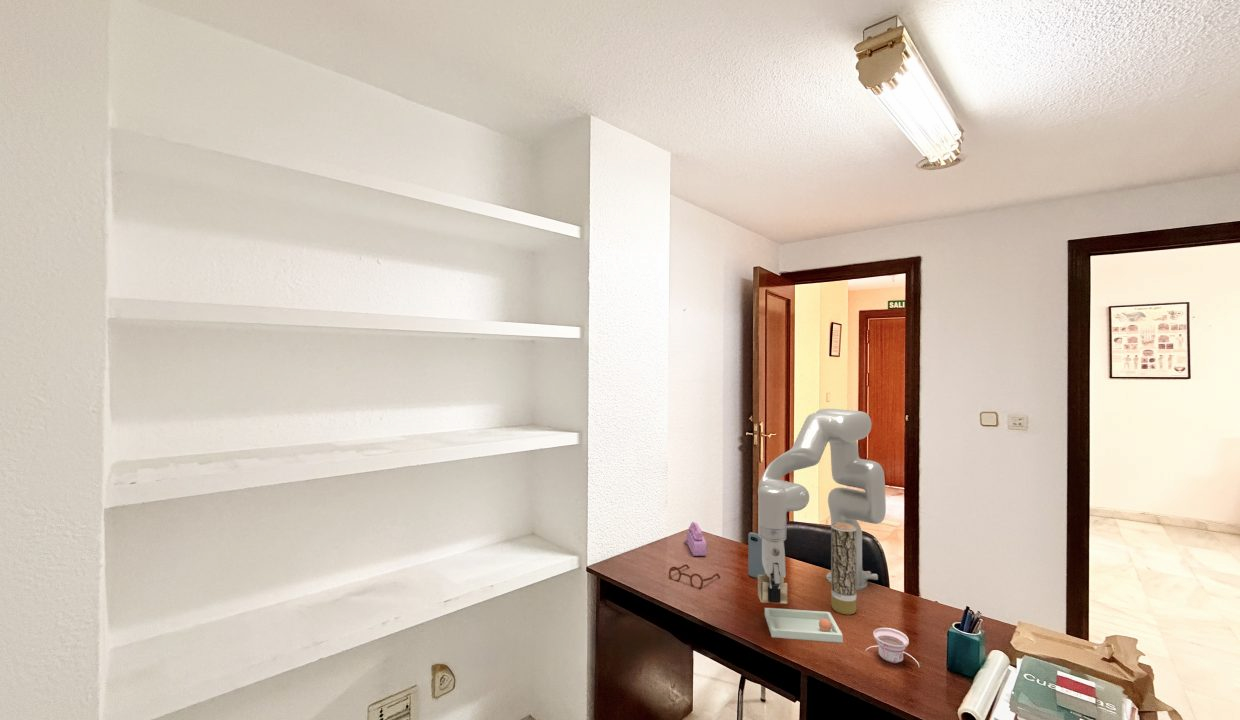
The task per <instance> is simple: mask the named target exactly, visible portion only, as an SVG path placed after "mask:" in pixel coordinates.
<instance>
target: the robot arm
mask: <svg viewBox="0 0 1240 720" xmlns="http://www.w3.org/2000/svg"><path fill="white" fill-rule="evenodd" d="M871 430H872V420H871V417H870V415H869V414H868V413H867V412H864V411H862V410H861V411H860V410H853V409H852V410H849V409H838V408H821V409H817V411H816V412H813V413H811V414H808V415H807V416H806V418H805V420H804V422H803V424H802V427H801V428H800V431H799V432H798V434H797V436H796V439H795V440H794V443H793V446H791V448H790V449H789V450H787V451H786V452H783V453H782V454H781V455H779V456H777V457H776V458H774V459H773V460H772V461H770V463H768V465H767V467H766V468H765V470H764V472H763V474H762V476H761V478H760V481H759V483H758V488H757V495H758V496H757V497H758V499H757V500H758V501H757V503H758V505H757V508H758V509H757V514H758V517H757V519H758V521H757V525H758V526H757V527H758V530H757V531H758V533H757V534H758V536H759V537H760V538H761V539H762V564H763V567H764V570H765V575H767V576H768V577H769V587H768V602H772V603H771V604H781V603H780V576H781V577H783V578H784V579H785V578H786V576H787V575H786V574H787V573H786V571H787V570H786V569H787V568H786V553H785V541H786V540H787V531H788V530H787V529H788V527H787V513H789V512H798V511H801V510H803V509H805V507H807V506H808V504H809V502H810V492H809V491H808V489H807V488H806V487H805V486H803V485H801V484H799V483H795V482H790V481H788V480H787V481H786V480H782V478H783V477H784V476H785V475H787V474H789V473H792V472H794V471H798V470H803V469H807V468H810V467H814V466H816V465H818V464H819V462H821V461H820V460H821V458H822V456H823V454H824V451H825V449H826V446H827V445H828V443H829V447H830V466H831V468H830V469H831V477H832V480H833V481H834V482H835V483H836V484H838V485H842V486H846V487H835V488H833V489H831V490H830V492H829V493H828V497H827V503H828V509H829V514H830V515H829V516H830V524H832V523H835V522H843V523H849V524H852V525H854V526H856V591H861V590H864V589H866V588H867V587H868V580H871V581H878V580H879V575H878V574H877V573H872V572H871V571H870V570H864V569H863V531H862V528H861V525H860V524H859V522H858V521H860V522H863V523H869V524H875V525H877V524H881V523H882V522H883V521H884V519H885V518H886V517H885V516H886V512H887V511H886V505H887V504H886V503H887V502H886V480H885V477H886V476H885V472H884V469H883V467H882V465H881V464H880V463H879V462H877V461H874V460H870V459H863V458H861V457H860V456H859V445H858V444H859V443H858V441H860V440H863V439H865V438H866V437H868V435H869V434H870V432H871ZM848 487H852V488H848ZM854 488H857V489H854ZM858 489H862V491H861V490H858ZM831 526H832V525H830V527H831ZM771 575H774V576H771ZM825 577H826V581H827V582H828V583H829V584H831V571H830V572H827V574H826V576H825ZM771 578H773V579H774V581H772V579H771Z"/></svg>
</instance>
